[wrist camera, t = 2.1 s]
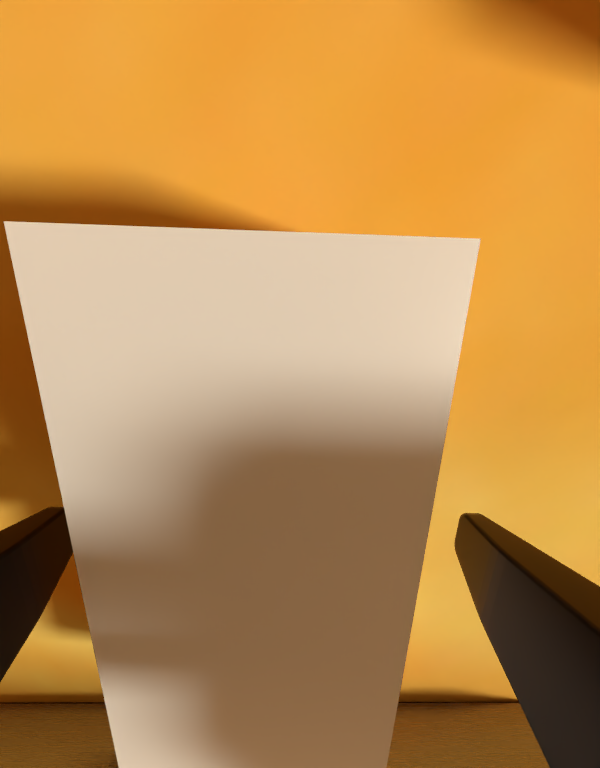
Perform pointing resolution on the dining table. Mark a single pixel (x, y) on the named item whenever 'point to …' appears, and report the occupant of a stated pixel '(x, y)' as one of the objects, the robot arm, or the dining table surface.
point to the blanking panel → (246, 473)
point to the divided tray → (405, 761)
